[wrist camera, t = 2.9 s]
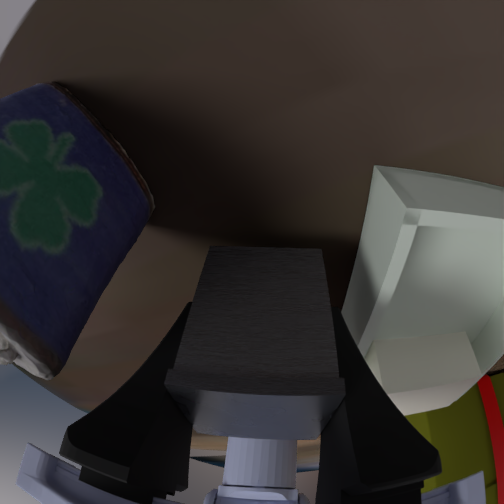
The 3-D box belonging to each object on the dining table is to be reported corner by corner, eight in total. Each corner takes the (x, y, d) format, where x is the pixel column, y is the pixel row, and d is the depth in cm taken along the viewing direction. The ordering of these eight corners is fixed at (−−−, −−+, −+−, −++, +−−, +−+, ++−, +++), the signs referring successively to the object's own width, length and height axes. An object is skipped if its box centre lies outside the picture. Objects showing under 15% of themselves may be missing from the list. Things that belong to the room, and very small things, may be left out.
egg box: (438, 366, 19) (448, 406, 16) (354, 375, 20) (359, 421, 17) (465, 331, 16) (482, 375, 13) (373, 339, 17) (383, 394, 14)
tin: (311, 321, 14) (316, 439, 9) (219, 318, 14) (197, 432, 9) (324, 246, 11) (345, 394, 6) (207, 243, 11) (164, 384, 7)
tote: (447, 369, 21) (456, 400, 18) (318, 381, 22) (319, 420, 19) (547, 199, 9) (580, 233, 7) (374, 164, 11) (406, 207, 8)
